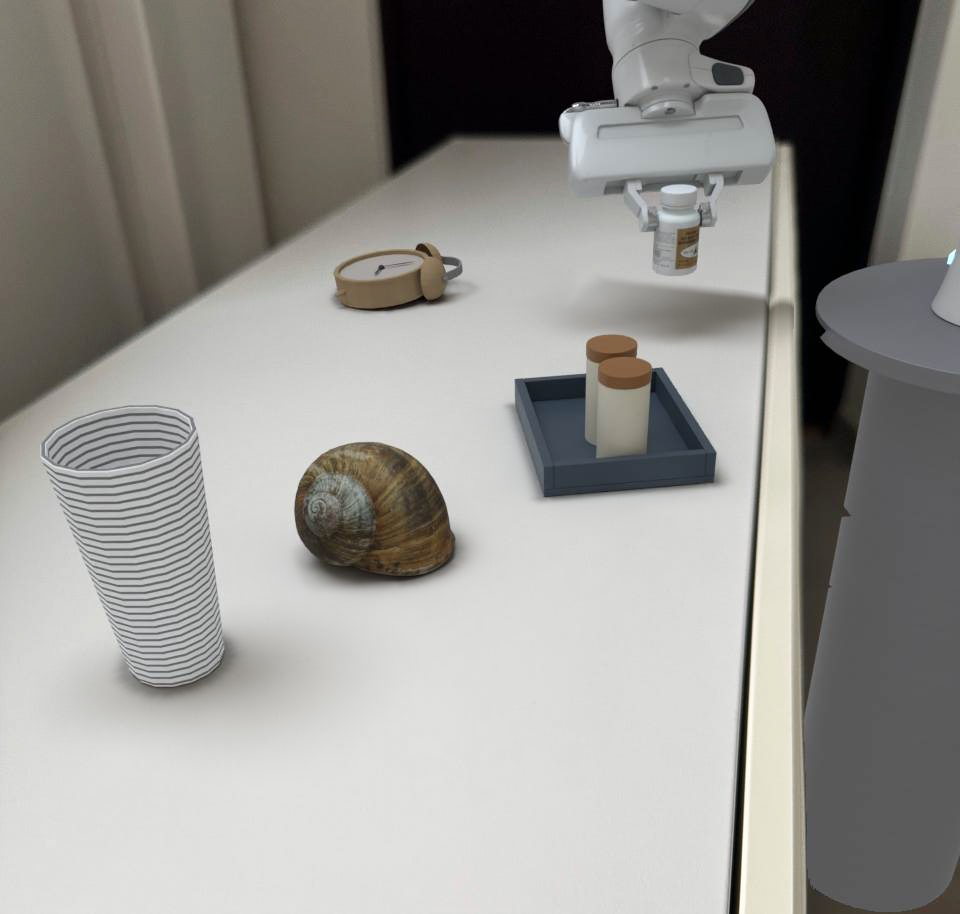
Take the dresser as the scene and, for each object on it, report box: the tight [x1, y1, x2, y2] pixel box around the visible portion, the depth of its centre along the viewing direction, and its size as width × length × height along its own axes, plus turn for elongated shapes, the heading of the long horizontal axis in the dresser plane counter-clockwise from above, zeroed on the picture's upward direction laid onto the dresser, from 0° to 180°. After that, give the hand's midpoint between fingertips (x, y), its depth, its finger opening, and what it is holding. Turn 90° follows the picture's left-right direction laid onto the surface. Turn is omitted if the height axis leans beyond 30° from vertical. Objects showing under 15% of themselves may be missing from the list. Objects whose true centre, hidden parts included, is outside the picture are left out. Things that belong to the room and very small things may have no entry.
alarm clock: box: [332, 242, 464, 309], centre depth 122 cm, size 11×5×15 cm
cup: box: [39, 404, 226, 688], centre depth 63 cm, size 8×8×16 cm
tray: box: [514, 366, 718, 497], centre depth 89 cm, size 14×18×3 cm
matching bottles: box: [585, 333, 653, 458], centre depth 85 cm, size 4×9×8 cm, turn 6°
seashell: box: [293, 441, 456, 577], centre depth 74 cm, size 11×9×8 cm
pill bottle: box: [651, 184, 701, 277], centre depth 103 cm, size 4×4×8 cm
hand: (679, 226), depth 102 cm, fingers closed on pill bottle, 4 cm apart
